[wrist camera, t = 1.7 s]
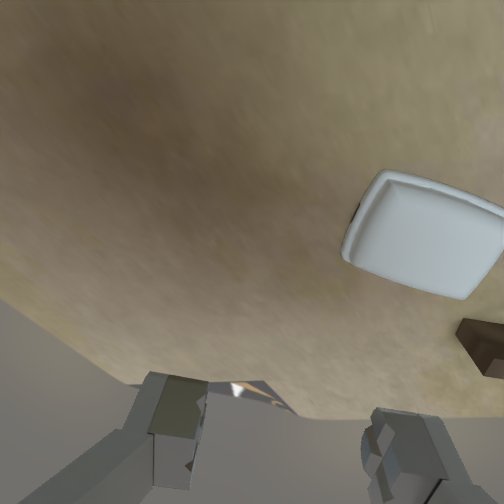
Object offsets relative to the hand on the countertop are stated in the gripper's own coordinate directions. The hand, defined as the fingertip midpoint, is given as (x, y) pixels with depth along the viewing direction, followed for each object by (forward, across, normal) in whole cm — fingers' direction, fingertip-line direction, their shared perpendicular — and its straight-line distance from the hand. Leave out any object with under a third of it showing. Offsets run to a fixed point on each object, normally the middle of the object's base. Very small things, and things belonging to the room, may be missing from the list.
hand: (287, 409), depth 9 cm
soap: (+16, -9, 0) cm, 18 cm away
